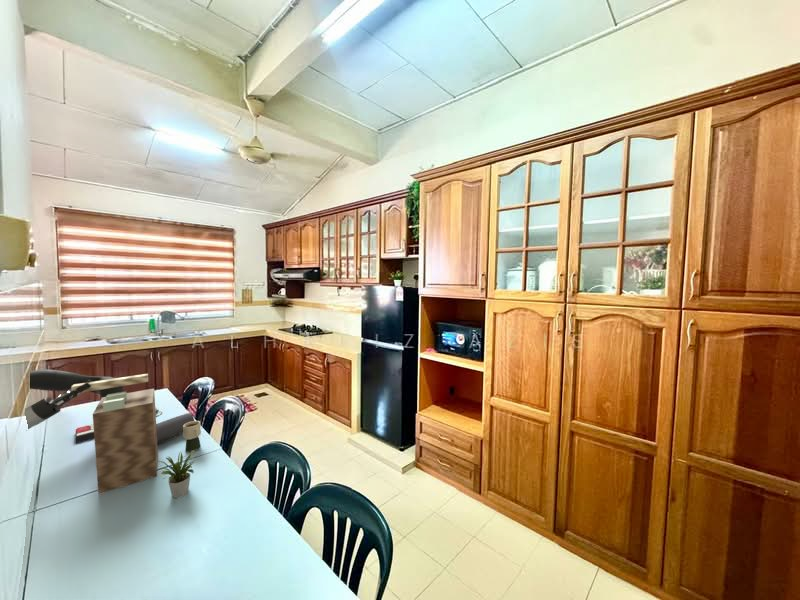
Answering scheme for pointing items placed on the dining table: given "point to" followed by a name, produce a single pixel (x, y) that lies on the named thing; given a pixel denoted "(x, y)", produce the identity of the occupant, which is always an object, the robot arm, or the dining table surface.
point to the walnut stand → (126, 441)
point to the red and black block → (84, 433)
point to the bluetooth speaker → (172, 427)
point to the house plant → (179, 475)
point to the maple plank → (114, 382)
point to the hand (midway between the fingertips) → (90, 383)
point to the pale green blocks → (114, 401)
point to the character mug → (192, 435)
